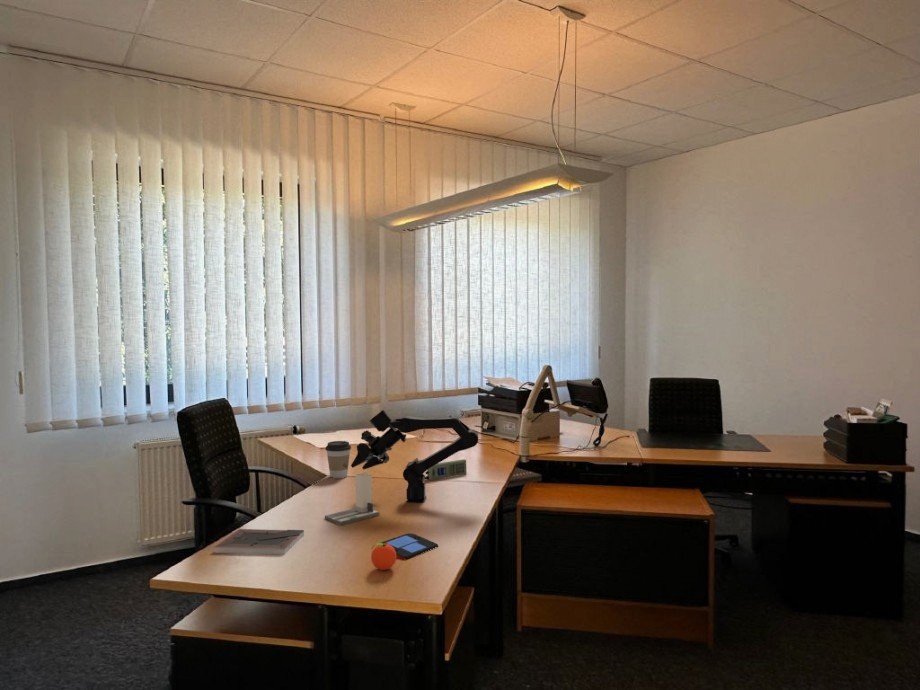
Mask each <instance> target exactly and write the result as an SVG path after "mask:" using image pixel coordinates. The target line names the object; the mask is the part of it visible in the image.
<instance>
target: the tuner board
mask: <svg viewBox="0 0 920 690" xmlns="http://www.w3.org/2000/svg"><path fill="white" fill-rule="evenodd" d="M373 516H374V517H376V516H380V511H377V510H375V509H374V510H373V512H370V511H368V512H364V513H361V512H359V511H356V510H354V508H350V509H346V510H342V511H338V512H335V513H330V514H327V515H324V519H325V520H326V521H330V522H331V523H334V524H336V525H338V526H343V525H347V524H351V523H355V522H358V521H362V520H366V519H369V518H373Z"/></svg>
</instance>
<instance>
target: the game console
mask: <svg viewBox="0 0 920 690" xmlns="http://www.w3.org/2000/svg"><path fill="white" fill-rule="evenodd" d="M380 543H383V544H384V543H385V544H389V545H391V546H392V547H393V548H394V549H395V551H396V558H398V559H400V558H401V560H404V559H406V560H409V559H411V557H412V558H414V557H417V556H420V555H421V553H422V554H424V553H426V552H425V551H427V552H429V551H431V550H430V549H432V550H434V549H436V548H435V547H437V548H439V544H438V543H437V542H434V541H431V540H429V539H427V538H424V537H422V536H419V535H417V534H415V533H405V534H402V535H399V536H396V537H393V538H390V539H387V540H385V541H382V542H380ZM433 548H434V549H433ZM428 550H429V551H428ZM423 552H424V553H423ZM416 555H417V556H416Z"/></svg>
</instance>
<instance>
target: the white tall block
mask: <svg viewBox="0 0 920 690" xmlns="http://www.w3.org/2000/svg"><path fill="white" fill-rule="evenodd" d="M372 479H373V477H372V474H371V473H368V472H367V473H366V472H363V473H361V472H360V473H358V474H355V496H356V497H355V505H353V507H354V508H353V509H354V510H356V511H359V512H361V513H364V512H368V511H370V512H373V510H375V505H374V504H373V481H372Z"/></svg>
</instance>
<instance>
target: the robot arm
mask: <svg viewBox="0 0 920 690" xmlns="http://www.w3.org/2000/svg"><path fill="white" fill-rule="evenodd" d="M369 422H370V424H371V425H372V426H373V427H374V428H375V429H376V430H377V432H382V433H383V434H381V436H376V435H374V434H373V433H372V432H371V431H369V430H367V429H366V430H363V432H361V437H360V438H361V440H363V441H365V442H367V443H363V442H359V444H357V445H356V450H357V453H356V456H355V458H354V460H353V461H352V463H351V465H350V466H351V468H352V469H353V468H356V467H357V466H360V465H362V464H363V465H362V466H361V468H362V470H363V471H364V470H368V469H370V468H374V467H377V466H380V465H383V464H387V463H388V462H389V461H390V456H389V454H388V451H392V450H393V449H392V447H393V446H394V445H396V444H397V443H398V442H399V441H400V440H401V442H403V443H405V442H406V441H407V433H412V432H415V431H419V430H435V429H437V430H439V429H441V430H442V429H452V430H453V431H454V432H455V433H456V434H457V435H458V438H456V440H454V441H453V442H451V443H450V444H448V445H446V446H444V447H443V448H440V449H439V450H438V451H436V452H433V454H430V455H429V456H427V457H425V458H422V459H419V458H418V457H416V458H415V459H413V460H412V461H408V462H407V464H406V466H405V467H404V470H403V472H402V477H403V479H404V481H406V483H408V484H407V487H406V499H407V501H406V502H407V503H424V502H425V501H426V499H427V495H426V482H424V481H425V480H426V479H425V477H426V474H424V473H426V471H427V469H429V468H431V467H432V466H434V465H436V464H438V463H442V462H444V460H446V459H448V458H449V457H451V456H453V455H455V454H456V453H458V452H460V451H465V450H468V449H472V448H474V447H476V446H477V444H478V442H479V434H478V433H479V432H477V430H475V429H472V428H470V427H469V426H468V425H467V424H465V423H464V422H462V420H460V418H459V417H457V416H452V417H427V418H425V417H424V418H423V417H419V416H413V415H404V416H402V417H400V418H391V417H390V416H389V415H388V413H387V412H386V410H384V409H382V410H381V411H380V412H378V413H377V414H376V415H374V416H373V417H372V418H371V419H369ZM424 479H425V480H424Z"/></svg>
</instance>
